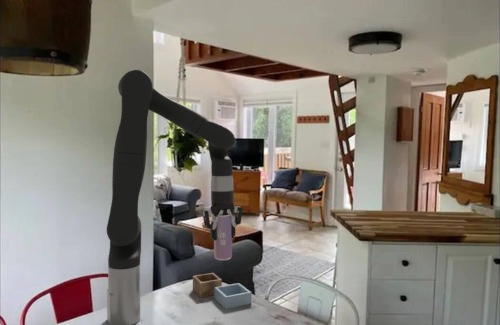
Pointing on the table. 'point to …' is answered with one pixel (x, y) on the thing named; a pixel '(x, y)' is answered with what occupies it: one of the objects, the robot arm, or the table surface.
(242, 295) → the tray
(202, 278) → the walnut box
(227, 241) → the beverage can
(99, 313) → the table surface
